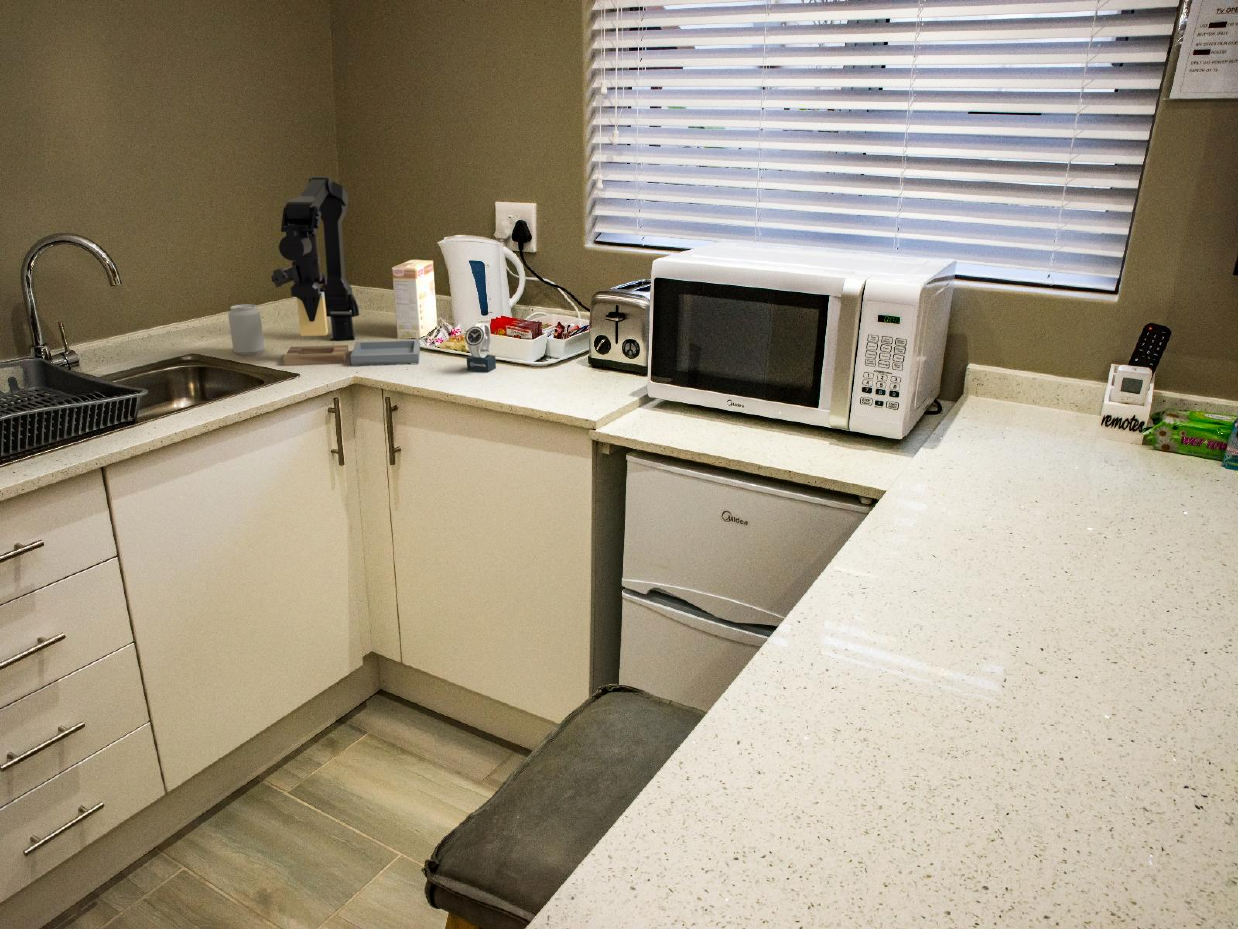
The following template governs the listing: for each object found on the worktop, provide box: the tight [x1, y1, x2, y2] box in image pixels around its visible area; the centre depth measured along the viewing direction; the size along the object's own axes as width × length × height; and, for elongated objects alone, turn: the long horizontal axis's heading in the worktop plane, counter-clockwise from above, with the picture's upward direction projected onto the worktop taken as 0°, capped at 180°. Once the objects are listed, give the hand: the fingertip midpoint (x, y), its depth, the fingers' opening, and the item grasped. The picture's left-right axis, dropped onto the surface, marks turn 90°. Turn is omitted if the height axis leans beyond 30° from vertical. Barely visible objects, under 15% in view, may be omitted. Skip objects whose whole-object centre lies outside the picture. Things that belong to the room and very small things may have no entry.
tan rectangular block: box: [296, 292, 329, 337], centre depth 228 cm, size 4×6×10 cm, turn 100°
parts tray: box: [350, 339, 421, 367], centre depth 233 cm, size 16×16×2 cm
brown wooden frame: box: [283, 344, 350, 367], centre depth 231 cm, size 12×14×2 cm
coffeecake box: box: [391, 259, 438, 340], centre depth 257 cm, size 15×7×20 cm, turn 172°
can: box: [228, 304, 265, 356], centre depth 236 cm, size 8×8×12 cm
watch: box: [464, 322, 497, 373], centre depth 221 cm, size 6×8×11 cm
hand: (313, 319), depth 228 cm, fingers closed on tan rectangular block, 4 cm apart
